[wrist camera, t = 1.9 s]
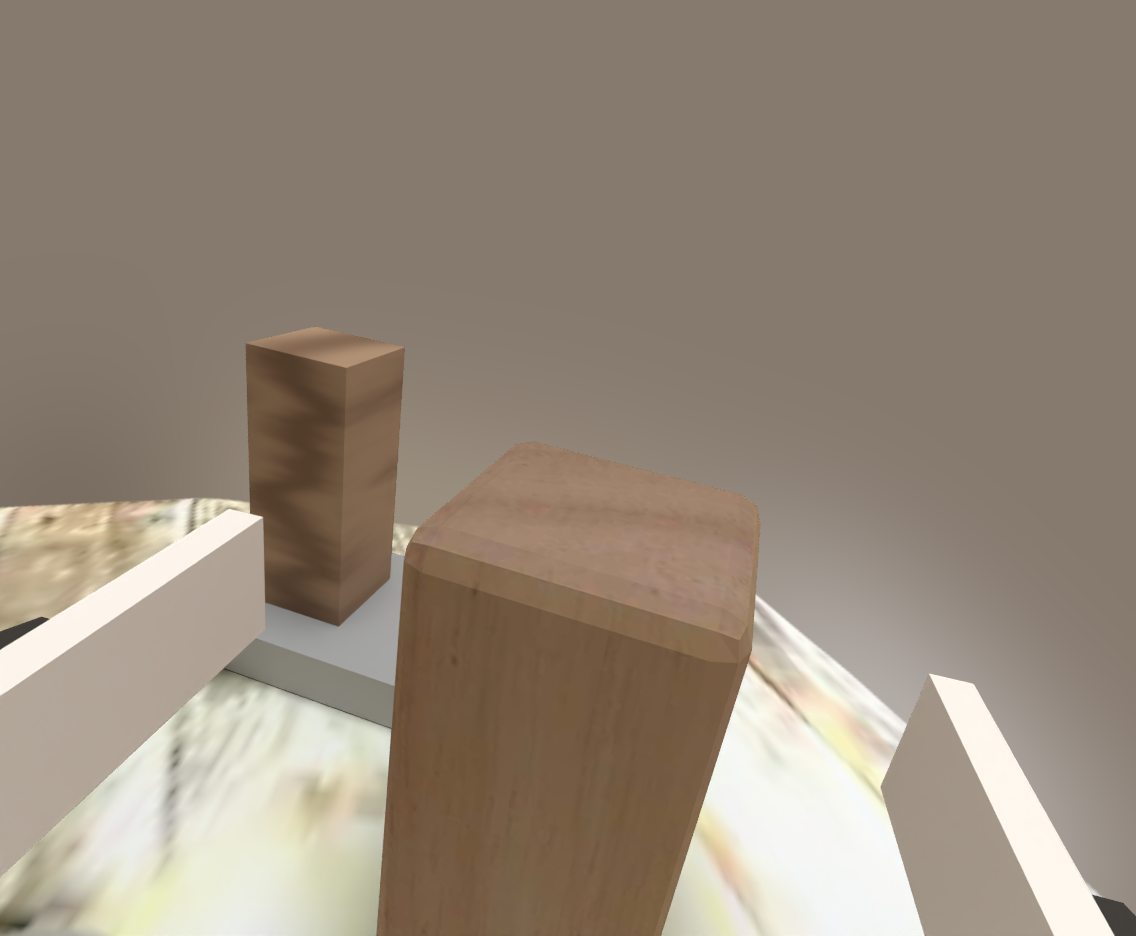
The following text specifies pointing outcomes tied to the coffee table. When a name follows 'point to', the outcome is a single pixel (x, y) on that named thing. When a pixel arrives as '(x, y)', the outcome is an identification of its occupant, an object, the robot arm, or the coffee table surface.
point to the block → (561, 696)
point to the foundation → (333, 654)
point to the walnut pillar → (324, 466)
